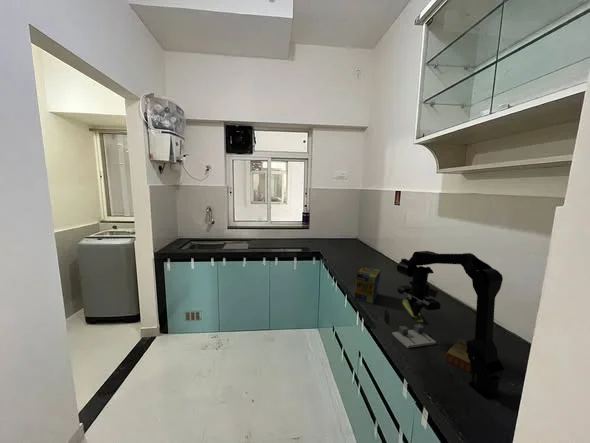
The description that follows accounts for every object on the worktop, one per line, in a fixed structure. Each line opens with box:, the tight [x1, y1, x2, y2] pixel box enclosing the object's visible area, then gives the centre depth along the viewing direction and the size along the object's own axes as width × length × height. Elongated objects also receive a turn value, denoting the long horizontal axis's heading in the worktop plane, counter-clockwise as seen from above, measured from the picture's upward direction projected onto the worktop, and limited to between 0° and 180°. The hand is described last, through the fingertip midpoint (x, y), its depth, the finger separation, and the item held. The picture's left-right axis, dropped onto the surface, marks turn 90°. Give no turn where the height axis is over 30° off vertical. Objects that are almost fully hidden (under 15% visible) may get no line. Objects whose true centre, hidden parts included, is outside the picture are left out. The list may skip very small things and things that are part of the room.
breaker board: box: [392, 329, 437, 349], centre depth 115 cm, size 10×14×1 cm
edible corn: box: [401, 298, 424, 323], centre depth 138 cm, size 5×20×5 cm
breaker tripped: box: [397, 325, 410, 335], centre depth 117 cm, size 3×3×2 cm
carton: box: [445, 338, 472, 374], centre depth 104 cm, size 8×16×4 cm, turn 132°
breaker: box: [412, 323, 425, 333], centre depth 119 cm, size 3×3×2 cm
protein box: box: [354, 266, 381, 305], centre depth 155 cm, size 10×15×16 cm
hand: (415, 316), depth 113 cm, fingers closed
